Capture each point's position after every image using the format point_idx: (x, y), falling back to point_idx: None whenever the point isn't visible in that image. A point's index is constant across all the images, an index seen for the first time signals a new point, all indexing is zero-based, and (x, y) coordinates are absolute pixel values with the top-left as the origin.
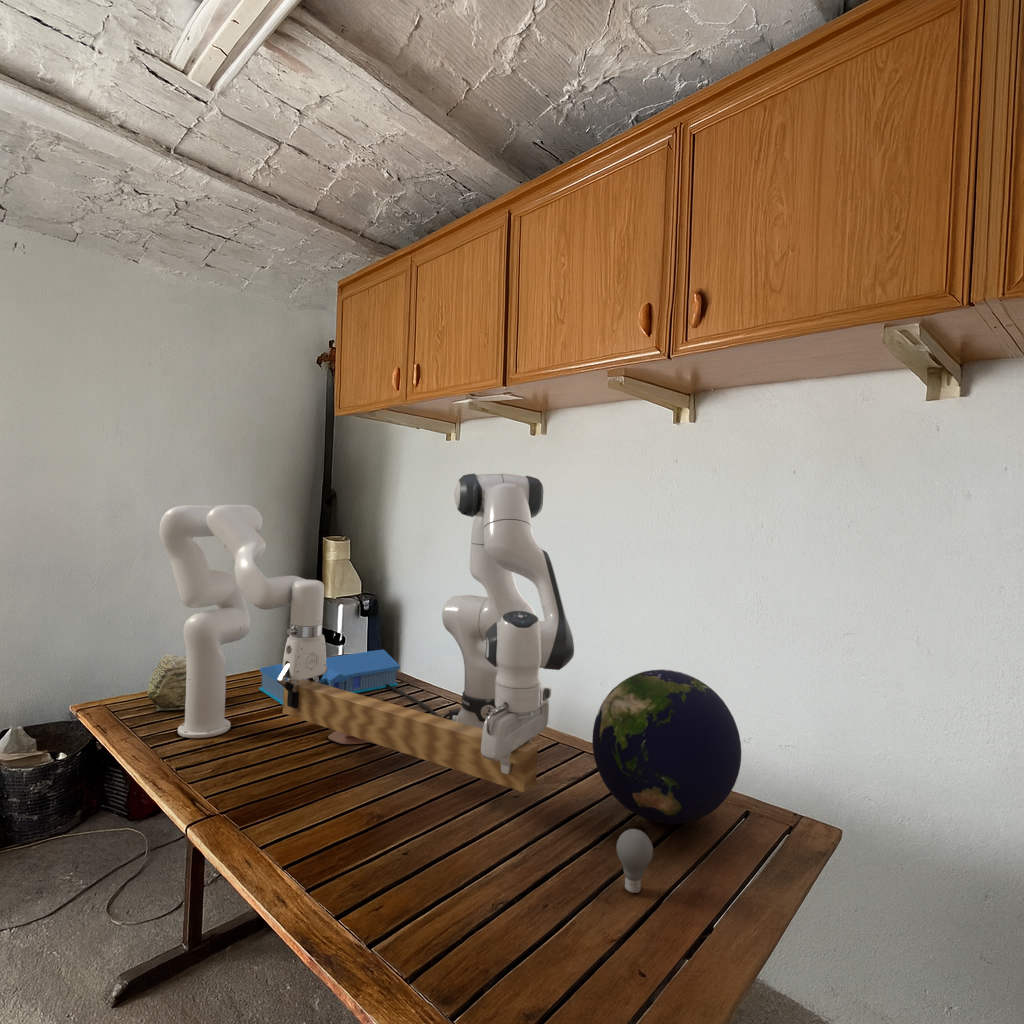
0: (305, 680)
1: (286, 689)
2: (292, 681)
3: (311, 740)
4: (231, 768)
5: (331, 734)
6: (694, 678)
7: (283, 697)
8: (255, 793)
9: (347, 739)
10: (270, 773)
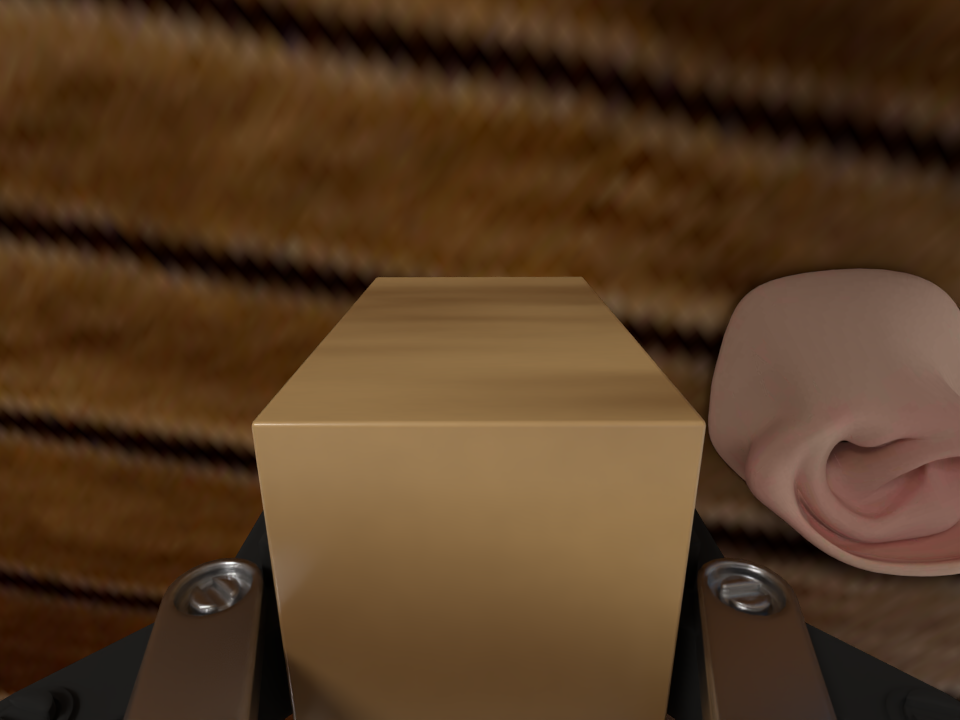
0: (624, 646)
1: (183, 596)
2: (255, 714)
3: (665, 229)
4: (80, 199)
5: (767, 315)
6: None
7: (338, 325)
8: (54, 529)
9: (745, 454)
10: (210, 419)
